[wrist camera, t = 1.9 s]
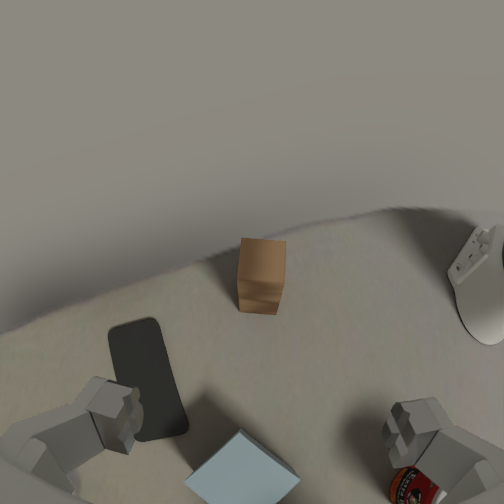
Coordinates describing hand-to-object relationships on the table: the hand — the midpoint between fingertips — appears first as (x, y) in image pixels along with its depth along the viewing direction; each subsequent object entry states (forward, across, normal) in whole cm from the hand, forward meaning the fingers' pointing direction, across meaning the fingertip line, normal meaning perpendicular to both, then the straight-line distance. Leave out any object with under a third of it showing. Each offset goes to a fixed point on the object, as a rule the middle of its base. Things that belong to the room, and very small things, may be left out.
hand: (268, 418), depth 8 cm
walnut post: (+28, 0, +8) cm, 30 cm away
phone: (+20, +13, +18) cm, 30 cm away
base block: (+13, 0, +24) cm, 27 cm away
